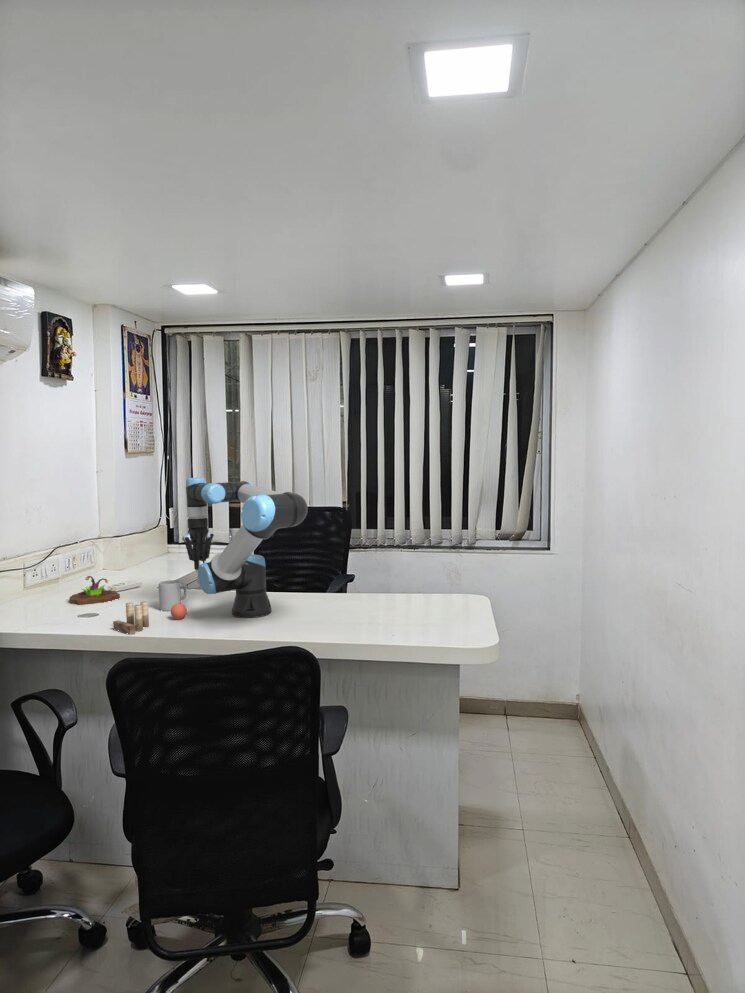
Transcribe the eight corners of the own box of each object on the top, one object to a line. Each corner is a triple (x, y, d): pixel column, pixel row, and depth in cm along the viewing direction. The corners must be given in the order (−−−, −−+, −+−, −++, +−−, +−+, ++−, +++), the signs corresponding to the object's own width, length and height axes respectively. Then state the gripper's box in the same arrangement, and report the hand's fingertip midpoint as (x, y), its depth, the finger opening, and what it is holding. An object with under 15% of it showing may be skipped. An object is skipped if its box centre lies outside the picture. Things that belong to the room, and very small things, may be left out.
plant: (64, 600, 290) (63, 575, 289) (110, 593, 302) (109, 569, 301) (75, 608, 274) (74, 581, 273) (123, 600, 286) (122, 575, 285)
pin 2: (144, 630, 233) (143, 605, 232) (137, 631, 231) (136, 606, 231) (140, 629, 235) (139, 604, 234) (134, 630, 233) (132, 605, 232)
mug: (168, 612, 260) (166, 585, 259) (155, 609, 265) (154, 583, 264) (193, 606, 269) (191, 580, 268) (180, 604, 274) (179, 578, 274)
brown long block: (135, 633, 229) (135, 625, 228) (130, 635, 227) (129, 626, 227) (118, 628, 237) (118, 620, 236) (113, 629, 235) (113, 621, 235)
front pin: (150, 626, 238) (149, 602, 237) (143, 628, 236) (142, 603, 235) (146, 625, 240) (145, 601, 239) (140, 627, 238) (138, 602, 237)
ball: (190, 618, 249) (189, 602, 248) (176, 621, 244) (175, 605, 244) (181, 616, 253) (181, 600, 252) (167, 619, 248) (167, 603, 248)
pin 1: (135, 627, 237) (134, 603, 236) (129, 629, 235) (127, 604, 234) (132, 626, 239) (131, 602, 238) (125, 628, 237) (124, 603, 236)
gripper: (206, 515, 261) (208, 574, 262) (177, 518, 251) (179, 579, 253) (217, 516, 256) (219, 576, 257) (188, 519, 246) (190, 581, 248)
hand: (200, 577), depth 255 cm, fingers closed
